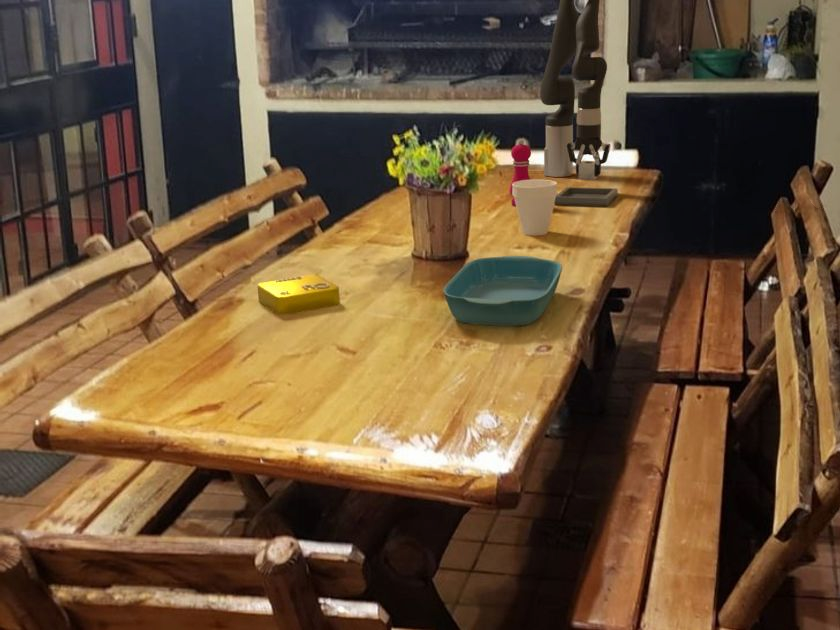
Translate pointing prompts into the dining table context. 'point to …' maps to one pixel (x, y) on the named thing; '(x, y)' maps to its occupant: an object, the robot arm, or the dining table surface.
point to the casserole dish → (502, 290)
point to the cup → (534, 204)
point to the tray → (586, 196)
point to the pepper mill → (520, 164)
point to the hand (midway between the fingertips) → (588, 175)
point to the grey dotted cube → (587, 170)
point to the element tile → (298, 294)
